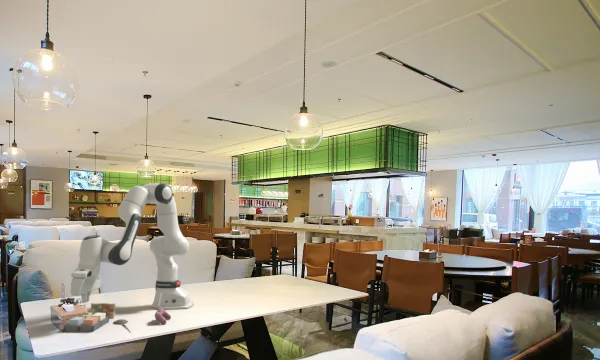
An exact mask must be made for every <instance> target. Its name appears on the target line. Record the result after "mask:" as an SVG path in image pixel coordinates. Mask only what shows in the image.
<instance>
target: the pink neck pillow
mask: <svg viewBox="0 0 600 360" xmlns="http://www.w3.org/2000/svg"><path fill="white" fill-rule="evenodd" d="M171 318H172V316H171V314H170V313H168V312H167V311H166V309H158V310H156V311H155V313H154V319H155V320H156V321H157V322H158V323H159V324H161V325H166V324H167V320H168V319H169V320H171Z"/></svg>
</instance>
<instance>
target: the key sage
mask: <svg viewBox="0 0 600 360" xmlns="http://www.w3.org/2000/svg"><path fill="white" fill-rule="evenodd" d="M88 313H89V314H88V315H83V317H84V319H86V318H88V317H91V316H92V313H90V312H88Z"/></svg>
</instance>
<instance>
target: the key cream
mask: <svg viewBox="0 0 600 360" xmlns="http://www.w3.org/2000/svg"><path fill="white" fill-rule="evenodd" d="M91 317H98V321H101V320H103V319H104V318H105V317H106V313H96V314H94V315H92V316H91Z"/></svg>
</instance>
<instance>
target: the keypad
mask: <svg viewBox="0 0 600 360" xmlns="http://www.w3.org/2000/svg"><path fill="white" fill-rule="evenodd" d="M109 320H110V318H109V317H105V318H104V319H103V320H101V321H98V323H96V324H94V325H83V323H81V324H79V325H68V323H66V324H64V325H63V333H64V332H65V333H93V332H95V331H97V330H99V329H100V328H101V327H104V326H105V325H106V324H108V323H109V322H110V321H109Z"/></svg>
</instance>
